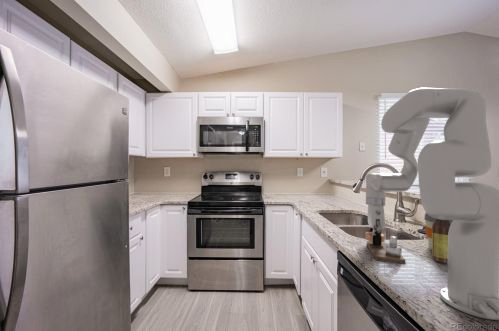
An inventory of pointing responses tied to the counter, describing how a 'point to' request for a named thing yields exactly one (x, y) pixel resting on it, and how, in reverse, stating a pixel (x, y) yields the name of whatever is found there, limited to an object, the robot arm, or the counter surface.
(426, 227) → the reusable coffee cup
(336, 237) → the counter surface
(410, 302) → the counter surface
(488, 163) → the robot arm
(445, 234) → the sauce bottle
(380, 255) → the board
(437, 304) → the counter surface
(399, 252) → the storage rod
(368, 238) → the ring
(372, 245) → the hub post
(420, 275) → the counter surface
